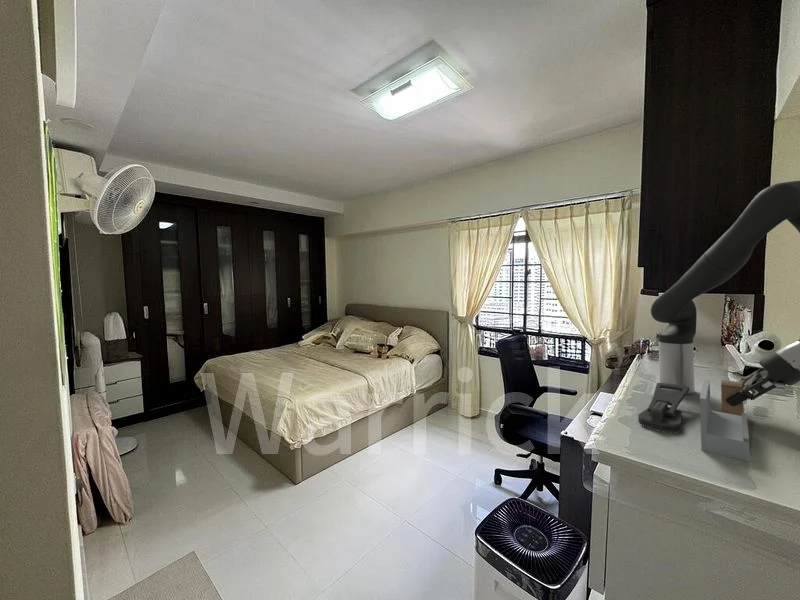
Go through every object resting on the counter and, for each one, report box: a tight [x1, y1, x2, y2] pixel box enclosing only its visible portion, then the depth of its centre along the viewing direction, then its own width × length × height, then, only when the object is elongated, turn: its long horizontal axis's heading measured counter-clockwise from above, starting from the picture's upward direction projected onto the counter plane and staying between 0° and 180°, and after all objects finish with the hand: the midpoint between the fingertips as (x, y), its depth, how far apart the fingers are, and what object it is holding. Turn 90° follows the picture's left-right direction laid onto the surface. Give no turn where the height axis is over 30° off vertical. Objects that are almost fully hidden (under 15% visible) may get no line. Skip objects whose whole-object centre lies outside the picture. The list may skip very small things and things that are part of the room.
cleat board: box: [699, 379, 751, 462], centre depth 76 cm, size 18×7×12 cm, turn 134°
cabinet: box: [720, 379, 744, 416], centre depth 87 cm, size 5×5×10 cm
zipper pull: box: [637, 382, 690, 434], centre depth 91 cm, size 9×7×25 cm
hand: (728, 398), depth 87 cm, fingers open, 8 cm apart
